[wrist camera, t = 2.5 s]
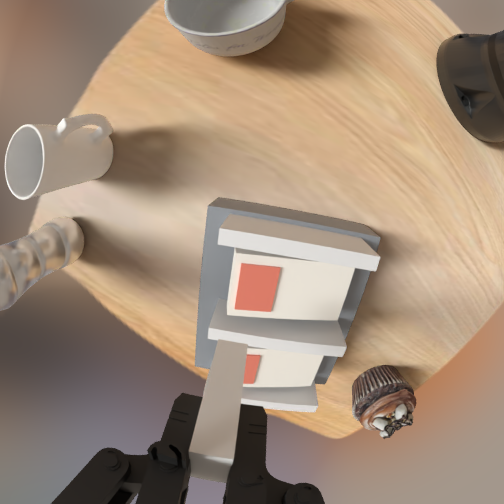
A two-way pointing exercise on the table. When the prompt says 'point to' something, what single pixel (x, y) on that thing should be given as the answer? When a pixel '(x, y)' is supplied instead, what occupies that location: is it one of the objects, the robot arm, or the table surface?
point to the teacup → (227, 23)
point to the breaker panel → (272, 329)
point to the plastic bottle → (37, 257)
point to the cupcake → (383, 400)
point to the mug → (58, 155)
